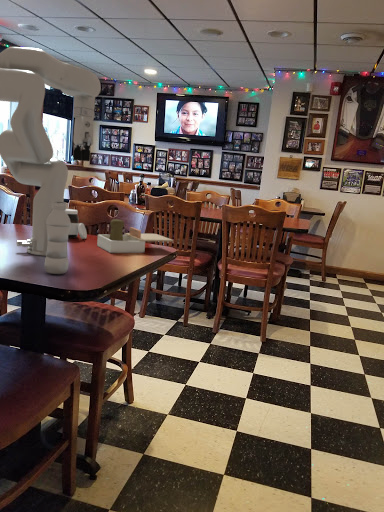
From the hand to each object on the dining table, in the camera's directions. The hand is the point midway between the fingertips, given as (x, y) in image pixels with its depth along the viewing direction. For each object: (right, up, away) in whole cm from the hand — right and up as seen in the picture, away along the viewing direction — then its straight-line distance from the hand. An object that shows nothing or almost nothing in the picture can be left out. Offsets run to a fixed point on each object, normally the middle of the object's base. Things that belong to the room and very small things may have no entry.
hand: (81, 160), depth 154 cm
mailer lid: (+25, -30, +9) cm, 40 cm away
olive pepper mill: (+13, -34, +2) cm, 36 cm away
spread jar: (-8, -29, +17) cm, 35 cm away
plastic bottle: (+5, -42, -42) cm, 60 cm away
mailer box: (+15, -34, +3) cm, 37 cm away
